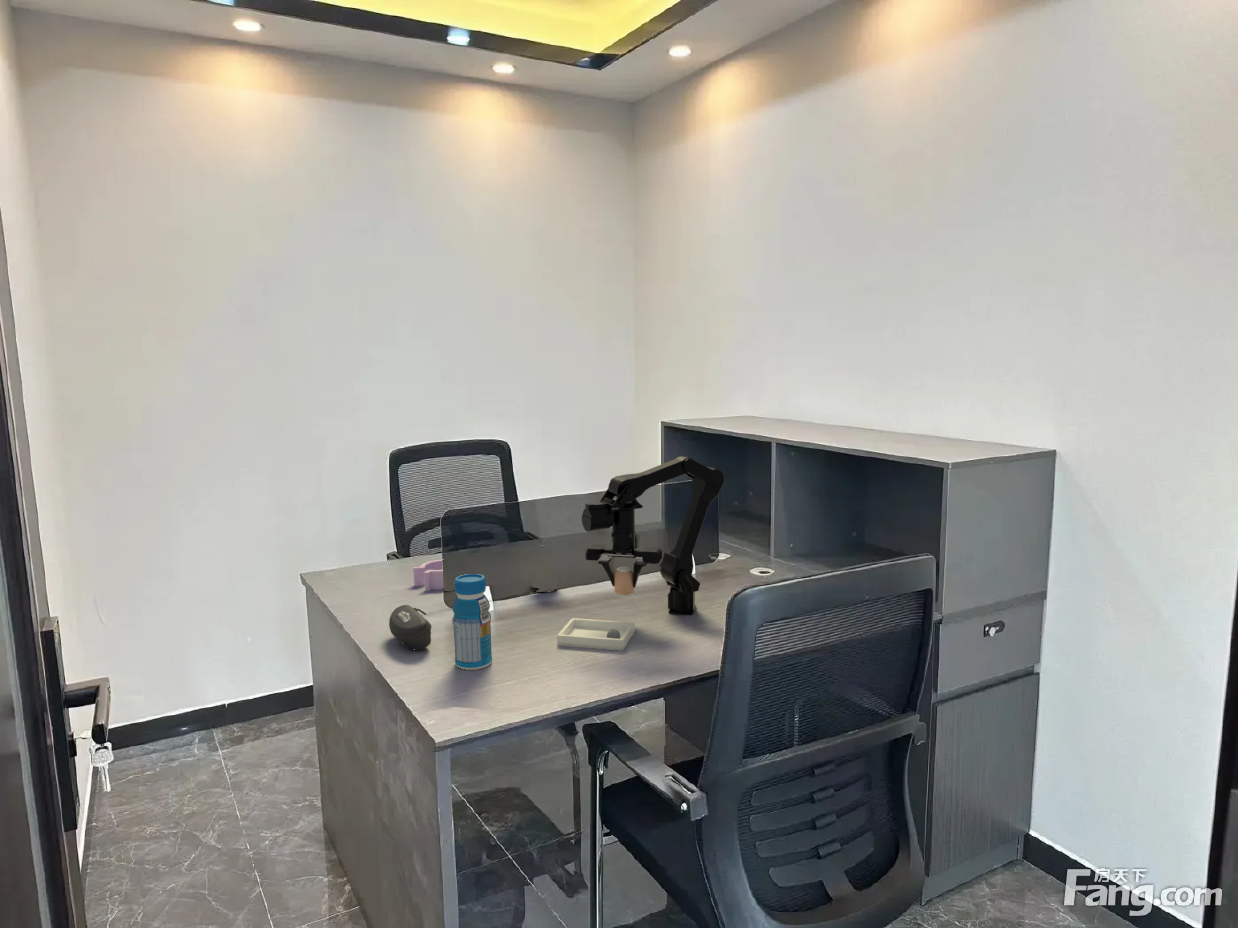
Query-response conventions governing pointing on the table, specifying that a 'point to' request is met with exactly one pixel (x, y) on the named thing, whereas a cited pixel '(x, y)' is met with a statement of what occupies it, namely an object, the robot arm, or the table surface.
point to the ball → (613, 634)
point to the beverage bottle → (471, 623)
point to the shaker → (623, 581)
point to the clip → (429, 575)
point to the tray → (595, 634)
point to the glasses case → (410, 627)
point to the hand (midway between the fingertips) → (624, 586)
